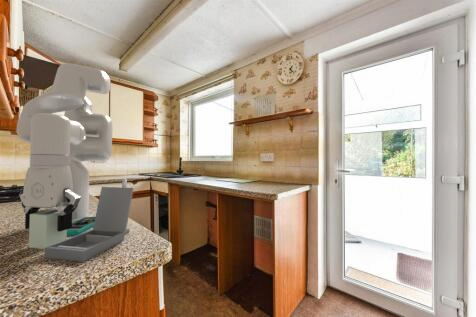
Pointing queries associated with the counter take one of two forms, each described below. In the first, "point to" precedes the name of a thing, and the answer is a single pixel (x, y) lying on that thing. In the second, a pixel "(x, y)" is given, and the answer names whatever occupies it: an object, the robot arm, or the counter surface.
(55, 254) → the case
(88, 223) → the digital multimeter
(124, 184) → the clear capped tube
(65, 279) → the counter surface
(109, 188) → the lid
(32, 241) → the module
